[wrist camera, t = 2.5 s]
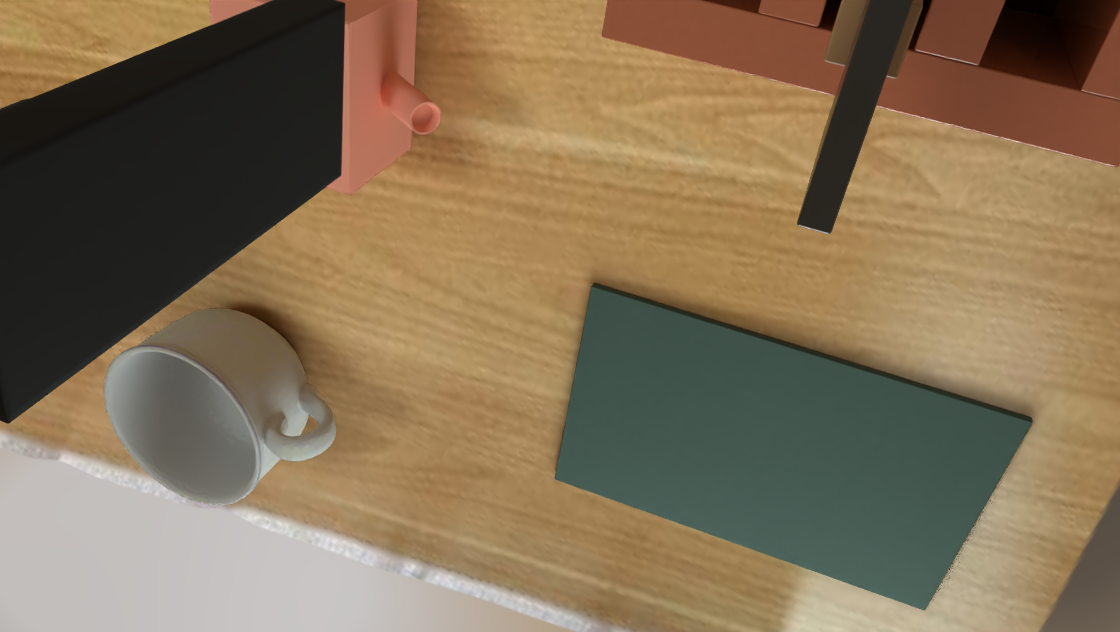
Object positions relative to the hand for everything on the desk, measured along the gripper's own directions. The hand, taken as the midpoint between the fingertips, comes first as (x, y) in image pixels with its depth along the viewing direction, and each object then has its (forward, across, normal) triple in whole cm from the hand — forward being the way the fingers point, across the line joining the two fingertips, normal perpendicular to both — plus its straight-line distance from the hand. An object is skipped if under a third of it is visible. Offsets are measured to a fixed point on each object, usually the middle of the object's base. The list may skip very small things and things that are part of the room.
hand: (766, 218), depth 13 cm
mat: (+28, +3, -27) cm, 39 cm away
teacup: (+29, -26, -34) cm, 51 cm away
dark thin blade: (+28, +1, -1) cm, 28 cm away
